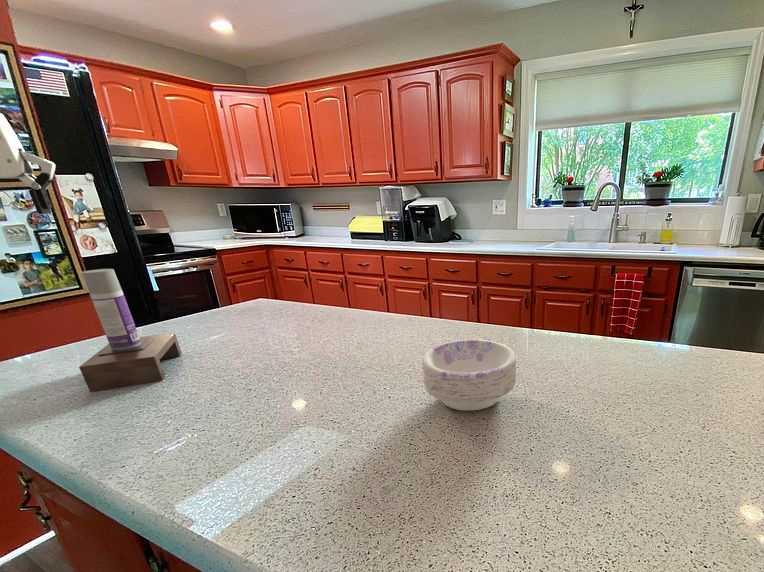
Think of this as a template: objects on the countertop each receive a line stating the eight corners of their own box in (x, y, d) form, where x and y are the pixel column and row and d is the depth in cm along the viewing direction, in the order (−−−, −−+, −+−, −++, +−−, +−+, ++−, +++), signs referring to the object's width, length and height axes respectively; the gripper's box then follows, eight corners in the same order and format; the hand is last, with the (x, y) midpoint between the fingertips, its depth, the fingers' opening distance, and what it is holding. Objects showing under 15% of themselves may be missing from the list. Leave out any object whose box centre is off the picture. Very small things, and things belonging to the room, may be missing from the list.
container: (132, 341, 82) (105, 268, 76) (146, 343, 80) (120, 269, 75) (106, 348, 78) (75, 272, 72) (120, 351, 76) (90, 273, 71)
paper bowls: (450, 431, 57) (447, 382, 54) (411, 391, 69) (407, 349, 66) (534, 404, 64) (536, 359, 61) (485, 372, 76) (484, 333, 73)
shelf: (89, 392, 72) (78, 365, 70) (121, 362, 86) (112, 339, 84) (162, 380, 76) (153, 355, 74) (182, 353, 90) (174, 331, 88)
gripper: (-144, 91, 57) (-78, 217, 64) (17, 100, 63) (62, 213, 70) (-100, 102, 63) (-45, 215, 70) (42, 109, 70) (81, 212, 76)
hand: (9, 214), depth 70 cm, fingers open, 9 cm apart
